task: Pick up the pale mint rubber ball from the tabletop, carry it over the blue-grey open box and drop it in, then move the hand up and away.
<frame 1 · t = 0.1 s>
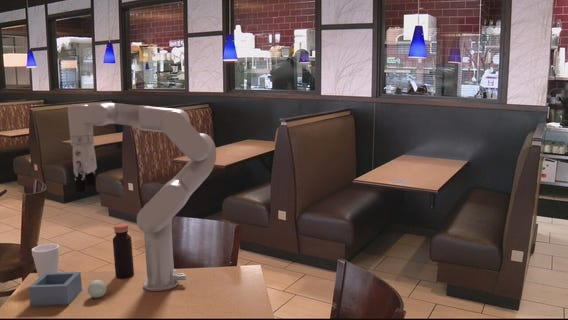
hand: (86, 188, 181), 37 cm above the table, tool pointing down, fingers open, 9 cm apart
blue-grey open box: (57, 298, 178), on the table
bottle: (125, 276, 197), on the table
foam cup: (49, 281, 194), on the table
ball: (97, 288, 177), point 3 cm above the table
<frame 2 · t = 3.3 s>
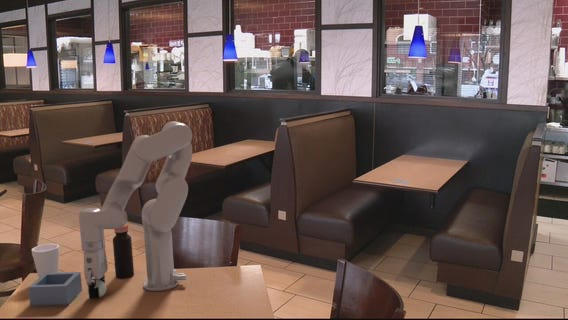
hand: (97, 294, 178), 1 cm above the table, tool pointing down, fingers closed on ball, 5 cm apart
ball: (97, 288, 177), point 3 cm above the table, touching gripper
everything else where it was.
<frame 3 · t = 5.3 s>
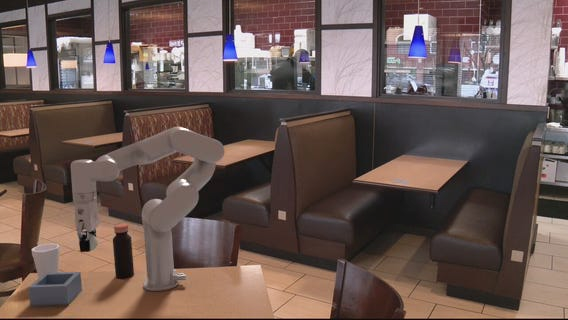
hand: (88, 247, 175), 18 cm above the table, tool pointing down, fingers closed on ball, 5 cm apart
ball: (88, 242, 175), point 20 cm above the table, touching gripper
everything else where it was.
when the fingers open (11 cm above the table, at t = 7.6 s): ball drops 9 cm, resting on blue-grey open box.
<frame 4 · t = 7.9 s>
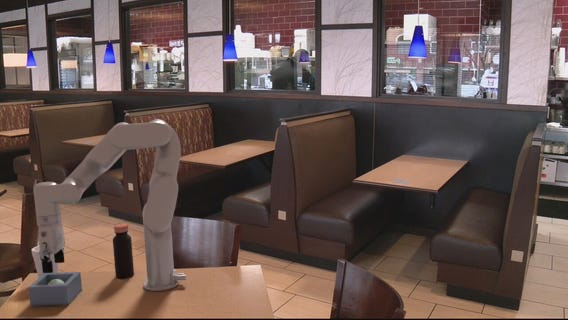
hand: (54, 267, 176), 11 cm above the table, tool pointing down, fingers open, 9 cm apart
ball: (56, 288, 177), point 4 cm above the table, touching blue-grey open box
everything else where it was.
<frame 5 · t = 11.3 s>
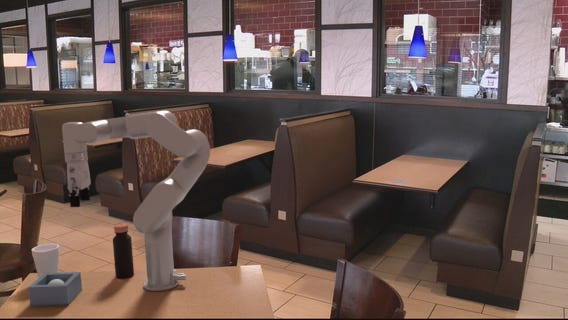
hand: (80, 203, 186), 30 cm above the table, tool pointing down, fingers open, 9 cm apart
nothing on the table moved.
at the end: ball inside the target area on the blue-grey open box (0.1 cm from its centre), point 3.8 cm above the blue-grey open box's base; the gripper is holding nothing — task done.
